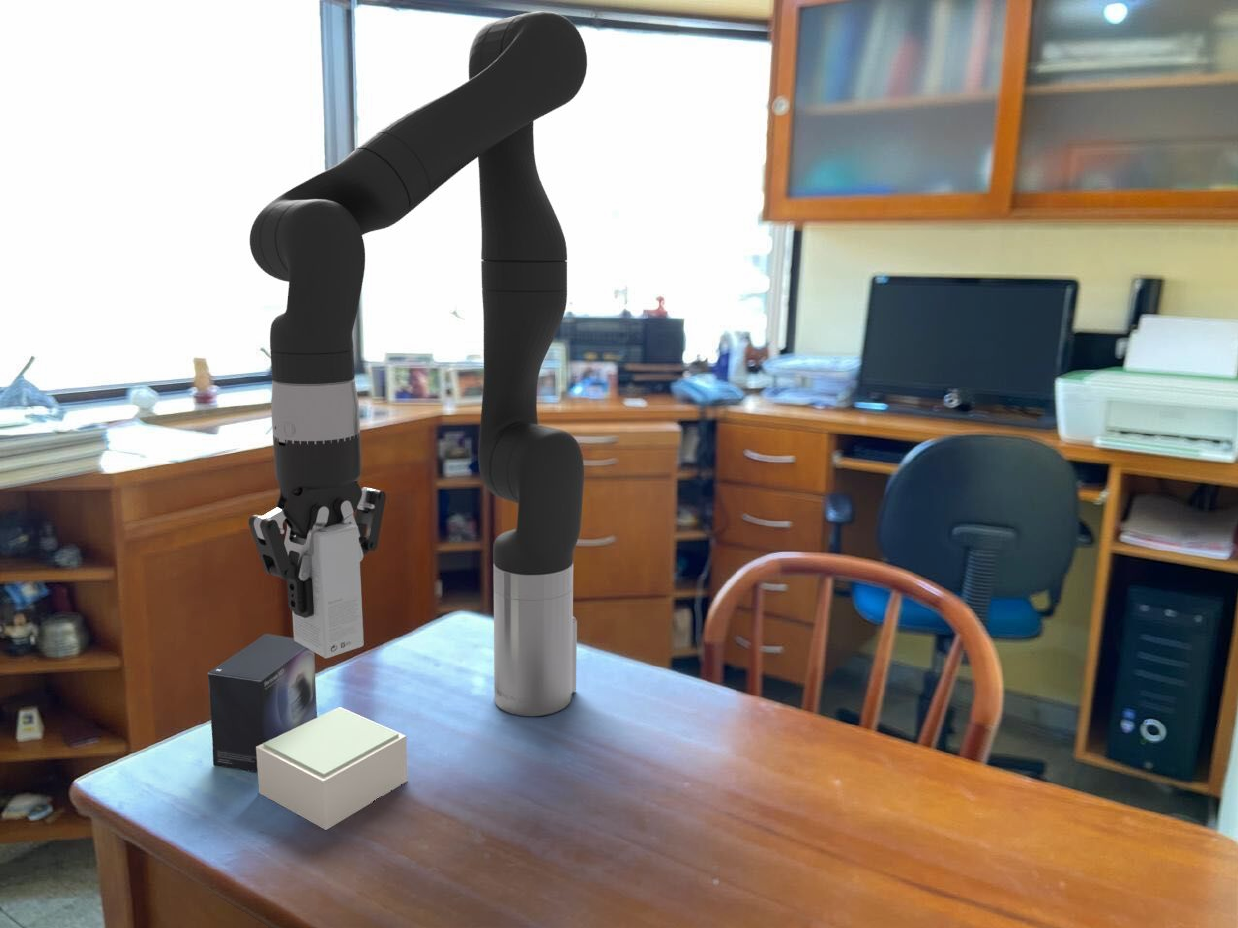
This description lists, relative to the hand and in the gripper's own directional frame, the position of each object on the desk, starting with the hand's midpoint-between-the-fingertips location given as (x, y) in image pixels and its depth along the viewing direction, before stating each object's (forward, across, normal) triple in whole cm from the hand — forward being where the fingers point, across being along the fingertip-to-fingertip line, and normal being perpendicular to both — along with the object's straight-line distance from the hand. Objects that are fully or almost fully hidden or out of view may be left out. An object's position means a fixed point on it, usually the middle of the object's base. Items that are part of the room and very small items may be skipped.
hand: (326, 605), depth 87 cm
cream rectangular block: (+19, 0, 0) cm, 19 cm away
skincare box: (+4, 0, 0) cm, 4 cm away
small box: (+19, -1, -12) cm, 23 cm away
